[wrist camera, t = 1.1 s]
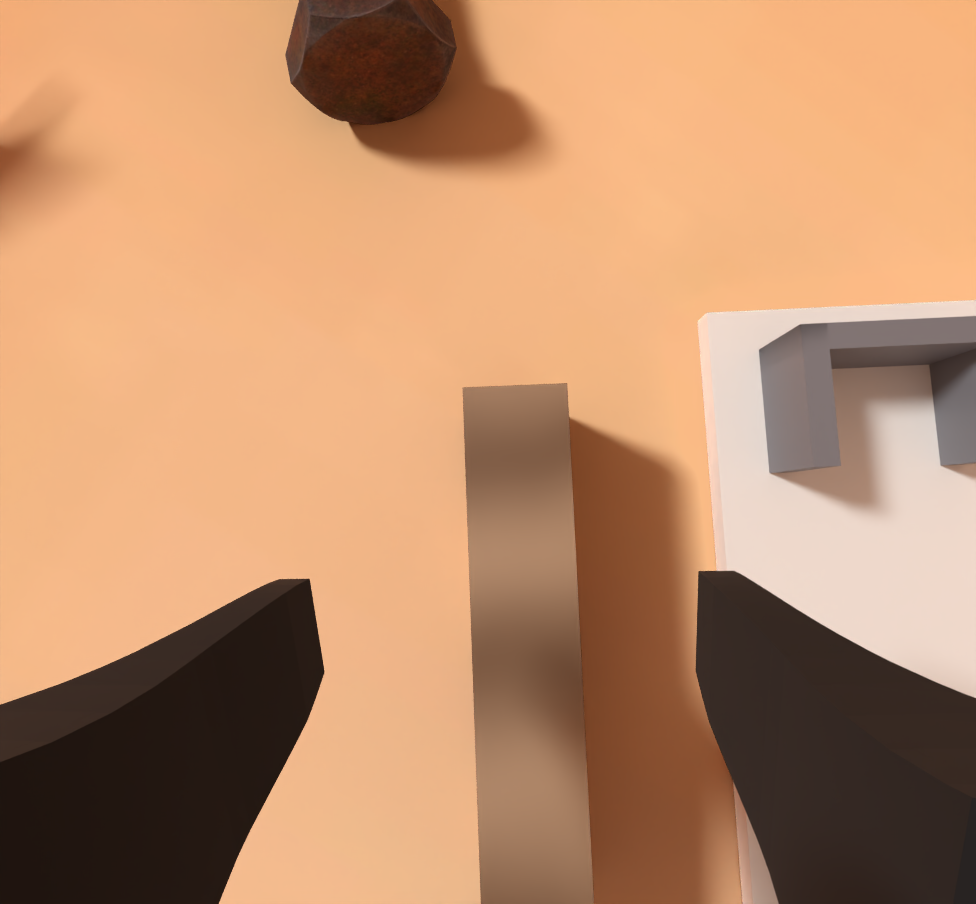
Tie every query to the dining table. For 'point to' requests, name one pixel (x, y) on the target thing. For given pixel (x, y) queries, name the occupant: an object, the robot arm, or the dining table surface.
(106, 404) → the dining table surface
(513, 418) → the slat
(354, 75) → the bolt
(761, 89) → the dining table surface
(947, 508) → the board
